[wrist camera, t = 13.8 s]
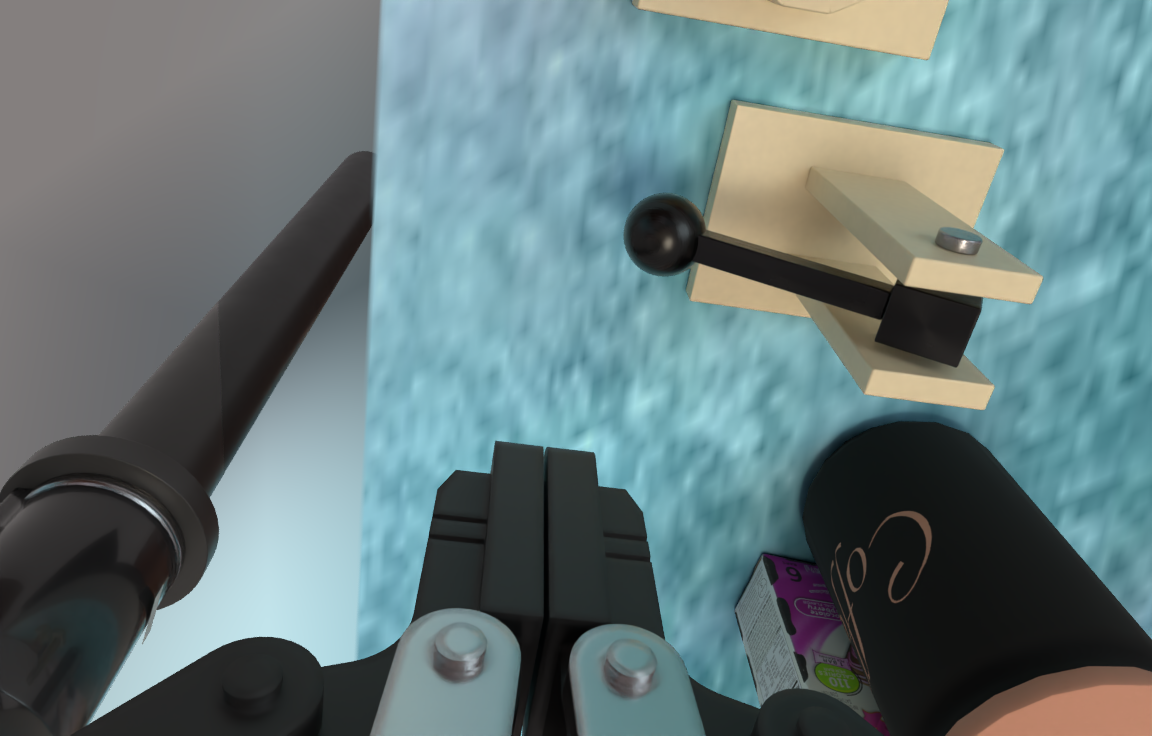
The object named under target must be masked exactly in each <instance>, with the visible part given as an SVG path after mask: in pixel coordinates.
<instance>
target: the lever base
mask: <svg viewBox="0 0 1152 736" xmlns="http://www.w3.org/2000/svg"><path fill="white" fill-rule="evenodd" d="M1003 152H1004V149H1002V148H1000V147H998V146H996V145H994V144H992V143H988V142H982V141H976V140H970V139H964V138H958V137H953V136H947V135H941V134H935V133H929V132H923V131H917V130H911V129H905V128H899V127H893V126H887V125H881V124H875V123H869V122H863V121H857V120H851V119H845V118H839V117H833V116H827V115H821V114H815V113H809V112H803V111H797V110H791V109H785V108H779V107H773V106H767V105H761V104H755V103H749V102H743V101H737V100H732V101H731V105H730V109H729V113H728V117H727V121H726V126H725V130H724V134H723V138H722V142H721V146H720V150H719V155H718V159H717V163H716V167H715V171H714V175H713V180H712V184H711V188H710V192H709V196H708V200H707V204H706V209H705V213H704V217H703V218H704V221H705V225H706V230H709V231H713V232H716V233H719V234H723V235H726V236H729V237H733V238H736V239H739V240H743V241H746V242H749V243H753V244H756V245H760V246H763V247H766V248H770V249H773V250H776V251H780V252H783V253H786V254H790V255H793V256H797V257H800V258H803V259H807V260H810V261H813V262H817V263H820V264H823V265H827V266H830V267H833V268H837V269H840V270H844V271H847V272H850V273H854V274H857V275H860V276H864V277H867V278H870V279H874V280H877V281H881V282H884V283H887V284H891V285H893V286H894V285H895V282H896V280H897V279H898V280H899V281H900V282H901V283H902V284H903V285H905V286H910V287H917V288H923V289H930V290H937V291H944V292H951V293H957V294H964V295H971V296H978V297H985V298H991V299H998V300H1005V301H1012V302H1019V303H1025V304H1032V302H1033V300H1034V298H1035V296H1036V294H1037V291H1038V289H1039V287H1040V285H1041V283H1042V280H1043V276H1041V275H1040V274H1039V273H1037V272H1036V271H1034V270H1033V269H1031V268H1030V267H1028V266H1027V265H1026V264H1024V263H1023V262H1021V261H1020V260H1018V259H1017V258H1015V257H1014V256H1012V255H1011V254H1010V253H1008V252H1007V251H1005V250H1004V249H1002V248H1001V247H999V246H998V245H997V244H995V243H994V242H992V241H991V240H989V239H988V238H986V237H985V236H983V235H982V234H981V233H979V232H978V231H976V230H975V229H973V228H974V225H975V223H976V220H977V218H978V215H979V213H980V210H981V208H982V205H983V202H984V200H985V197H986V195H987V192H988V190H989V187H990V185H991V182H992V180H993V177H994V175H995V172H996V170H997V167H998V165H999V162H1000V160H1001V157H1002V155H1003ZM686 292H687V294H688V297H689V299H690V301H695V302H703V303H710V304H717V305H724V306H731V307H738V308H745V309H752V310H759V311H766V312H773V313H781V314H788V315H795V316H802V317H809V318H812V319H813V321H814V322H815V324H816V325H817V327H818V328H819V330H820V331H821V333H822V334H823V335H824V337H825V338H826V340H827V341H828V343H829V344H830V346H831V347H832V348H833V350H834V351H835V353H836V354H837V356H838V357H839V359H840V360H841V361H842V363H843V364H844V366H845V367H846V369H847V370H848V372H849V373H850V375H851V376H852V377H853V379H854V380H855V382H856V383H857V385H858V386H859V388H860V389H861V390H862V392H863V393H864V394H865V395H872V396H880V397H887V398H895V399H903V400H910V401H918V402H925V403H933V404H940V405H948V406H956V407H963V408H971V409H978V410H984V409H985V408H986V406H987V403H988V401H989V399H990V397H991V394H992V392H993V390H994V387H995V386H994V385H993V384H992V383H991V382H990V381H989V380H988V379H987V378H986V377H985V376H984V375H983V374H982V373H981V372H980V371H979V370H978V369H977V368H976V367H975V366H974V365H973V364H972V363H971V362H970V361H969V360H968V359H967V358H966V356H965V355H964V354H963V356H962V358H961V360H960V363H959V365H958V367H957V368H955V367H952V366H949V365H946V364H943V363H940V362H936V361H933V360H930V359H927V358H924V357H921V356H918V355H915V354H912V353H908V352H905V351H902V350H899V349H896V348H893V347H890V346H887V345H884V344H881V343H877V342H875V337H876V334H877V331H878V329H879V326H880V323H881V320H878V319H874V318H871V317H868V316H865V315H862V314H858V313H855V312H852V311H849V310H846V309H842V308H839V307H836V306H833V305H830V304H826V303H823V302H820V301H817V300H814V299H811V298H807V297H804V296H801V295H798V294H795V293H791V292H788V291H785V290H782V289H779V288H775V287H772V286H769V285H766V284H763V283H759V282H756V281H753V280H750V279H747V278H743V277H740V276H737V275H734V274H731V273H727V272H724V271H721V270H718V269H715V268H711V267H708V266H705V265H702V264H699V263H695V264H694V265H693V266H692V267H691V271H690V275H689V279H688V283H687V288H686Z"/></svg>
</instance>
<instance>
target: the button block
mask: <svg viewBox="0 0 1152 736" xmlns="http://www.w3.org/2000/svg"><path fill="white" fill-rule="evenodd" d="M948 1H949V0H633V1H632V4H633V5H634V6H635V7H636V8H638V9H640V10H646V11H652V12H657V13H663V14H668V15H674V16H680V17H685V18H691V19H697V20H702V21H708V22H714V23H719V24H725V25H731V26H736V27H742V28H748V29H753V30H759V31H765V32H770V33H776V34H782V35H787V36H793V37H799V38H804V39H810V40H816V41H821V42H827V43H833V44H838V45H844V46H849V47H855V48H861V49H866V50H872V51H878V52H883V53H889V54H895V55H900V56H906V57H912V58H917V59H923V60H928V59H929V58H930V55H931V52H932V49H933V46H934V43H935V40H936V37H937V34H938V31H939V28H940V25H941V22H942V19H943V16H944V13H945V10H946V7H947V4H948Z"/></svg>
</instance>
